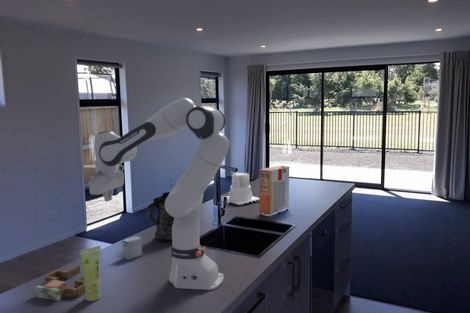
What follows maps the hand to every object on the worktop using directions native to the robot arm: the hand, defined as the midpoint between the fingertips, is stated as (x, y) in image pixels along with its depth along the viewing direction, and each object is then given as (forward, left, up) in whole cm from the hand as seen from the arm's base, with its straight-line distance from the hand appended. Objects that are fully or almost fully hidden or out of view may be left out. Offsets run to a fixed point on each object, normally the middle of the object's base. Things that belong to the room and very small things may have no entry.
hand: (108, 200), depth 168 cm
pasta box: (-51, -110, -30) cm, 125 cm away
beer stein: (-8, -40, -30) cm, 51 cm away
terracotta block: (+5, +28, -30) cm, 41 cm away
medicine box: (-3, -13, -30) cm, 33 cm away
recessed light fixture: (-21, -132, -30) cm, 137 cm away
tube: (-11, +27, -30) cm, 42 cm away
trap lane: (+5, +21, -30) cm, 37 cm away
